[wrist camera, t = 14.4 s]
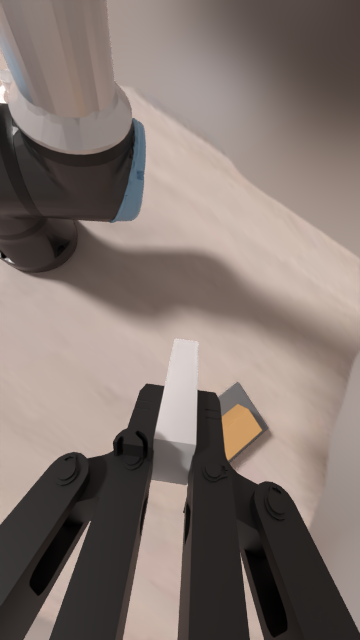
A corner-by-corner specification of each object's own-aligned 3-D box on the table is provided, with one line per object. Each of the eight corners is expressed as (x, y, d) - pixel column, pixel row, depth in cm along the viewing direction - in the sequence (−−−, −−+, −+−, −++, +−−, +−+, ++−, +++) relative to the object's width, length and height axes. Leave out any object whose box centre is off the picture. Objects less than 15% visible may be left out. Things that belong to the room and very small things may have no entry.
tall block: (191, 493, 35) (262, 430, 38) (176, 469, 35) (248, 409, 39) (185, 477, 39) (250, 422, 43) (172, 456, 39) (237, 403, 43)
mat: (197, 489, 39) (198, 490, 39) (165, 438, 40) (165, 439, 39) (267, 427, 44) (268, 428, 43) (237, 382, 44) (238, 382, 44)
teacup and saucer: (30, 122, 46) (20, 101, 42) (-9, 109, 45) (-24, 85, 41) (43, 93, 48) (35, 69, 44) (6, 79, 47) (-7, 54, 43)
